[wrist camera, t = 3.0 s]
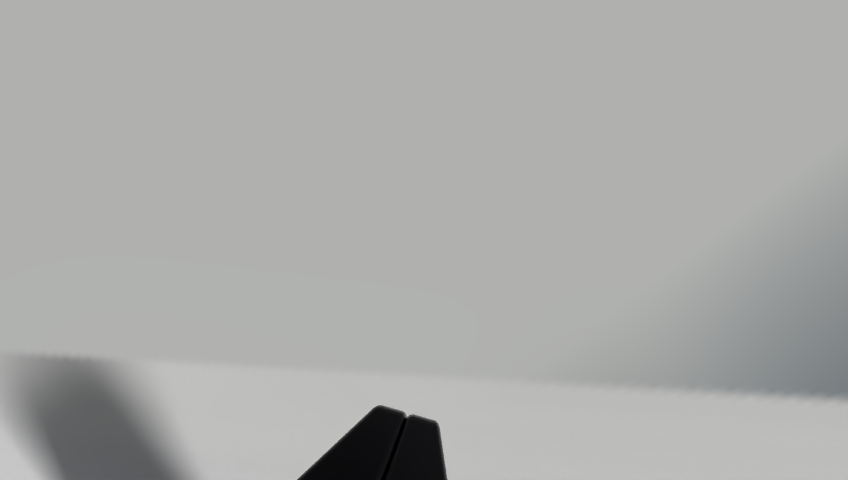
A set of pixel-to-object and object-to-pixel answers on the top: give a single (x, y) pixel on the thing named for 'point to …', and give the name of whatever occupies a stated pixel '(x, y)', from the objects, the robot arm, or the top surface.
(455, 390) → the top surface
